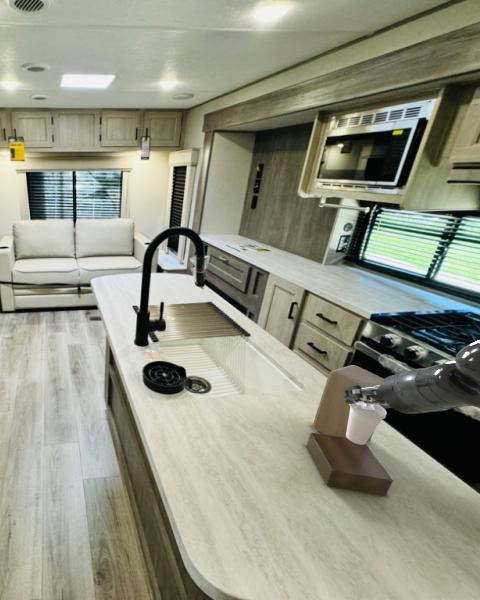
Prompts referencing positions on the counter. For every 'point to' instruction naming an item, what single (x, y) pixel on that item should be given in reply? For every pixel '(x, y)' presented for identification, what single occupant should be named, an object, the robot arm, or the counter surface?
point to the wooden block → (341, 399)
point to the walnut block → (348, 464)
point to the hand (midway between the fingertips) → (364, 401)
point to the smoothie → (363, 421)
